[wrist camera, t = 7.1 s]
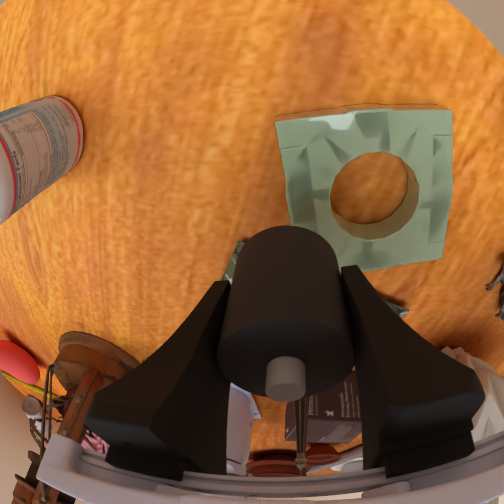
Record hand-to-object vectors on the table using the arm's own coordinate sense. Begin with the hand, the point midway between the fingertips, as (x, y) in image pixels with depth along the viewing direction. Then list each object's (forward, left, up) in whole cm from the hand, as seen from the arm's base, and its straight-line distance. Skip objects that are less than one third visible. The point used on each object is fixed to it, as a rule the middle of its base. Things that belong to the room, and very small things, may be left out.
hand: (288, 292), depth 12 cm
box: (-23, -5, -5) cm, 24 cm away
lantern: (-18, +25, -9) cm, 32 cm away
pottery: (-45, +4, -8) cm, 46 cm away
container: (-33, +57, -6) cm, 66 cm away
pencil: (-27, +52, -9) cm, 59 cm away
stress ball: (-13, +39, -6) cm, 42 cm away
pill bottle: (+8, +15, -9) cm, 19 cm away
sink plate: (0, -5, -8) cm, 10 cm away
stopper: (0, 0, -1) cm, 1 cm away
